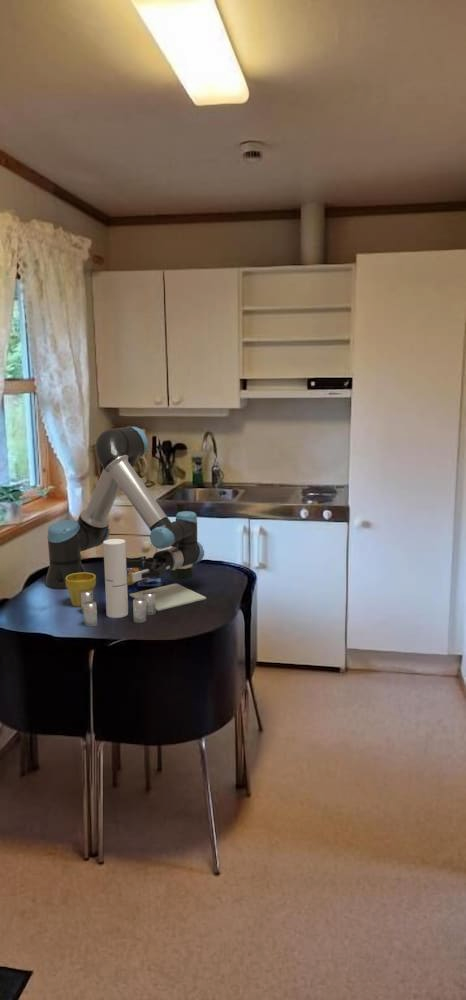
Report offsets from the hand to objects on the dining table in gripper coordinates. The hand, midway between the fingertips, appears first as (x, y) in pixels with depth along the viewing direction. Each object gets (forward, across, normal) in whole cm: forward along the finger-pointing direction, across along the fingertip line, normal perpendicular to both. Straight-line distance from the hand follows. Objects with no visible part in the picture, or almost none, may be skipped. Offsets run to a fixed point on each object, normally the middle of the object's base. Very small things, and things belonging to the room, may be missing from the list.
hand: (119, 573), depth 223 cm
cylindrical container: (+1, +1, -14) cm, 14 cm away
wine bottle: (-42, +15, -14) cm, 47 cm away
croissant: (-25, +28, -14) cm, 40 cm away
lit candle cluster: (+2, 0, -14) cm, 14 cm away
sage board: (-21, 0, -14) cm, 25 cm away
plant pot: (+3, +18, -14) cm, 23 cm away
